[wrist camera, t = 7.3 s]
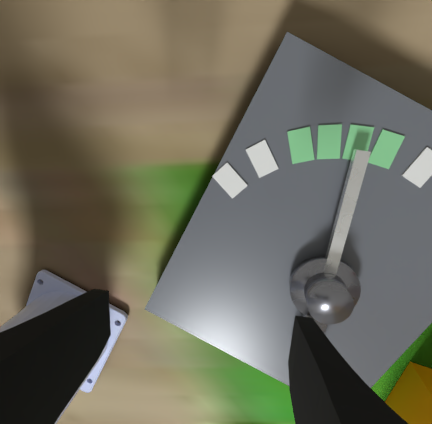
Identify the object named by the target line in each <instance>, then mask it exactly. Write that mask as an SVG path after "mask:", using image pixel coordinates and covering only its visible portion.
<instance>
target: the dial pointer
mask: <svg viewBox="0 0 432 424" xmlns="http://www.w3.org/2000/svg"><path fill="white" fill-rule="evenodd" d="M370 154H371V152H370V151H364V150H357V149H354V150H353V154H352V158H351V162H350V165H349V169H348V173H347V177H346V180H345V184H344V188H343V192H342V195H341V199H340V203H339V207H338V210H337V214H336V218H335V221H334V225H333V229H332V233H331V236H330V240H329V244H328V248H327V251H326V255H321V256H314V257H311V258H308V259H306V260H304V261H303V262H301V263H300V264H299V265H298V266H297V267H296V268H295V269H294V271H293V272H292V274H291V277H290V281H289V290H290V296H291V299H292V301H293V303H294V305H295V307H296V308H297V309H298V310H299V311H300V312H301V313H303V317H310V318H313V319H314V321H315V322H316V323H317V324H318V326H319V327H320V328H321V330H322V331H323V332H324V334H325V332H326V329H327V325H328V324H338V323H341V322H343V321H345V320H346V319H347V318H348V317H349V316H350V315H351V313H352V312H353V309H354V307H355V305H356V304H357V302H358V300H359V298H360V294H361V285H360V281H359V279H358V277H357V275H356V273H355V272H354V270H353V269H352V268H351V266H350V265H349V264H347V263H346V262H345V261H343V260H341V256H342V252H343V248H344V245H345V241H346V238H347V234H348V231H349V227H350V224H351V220H352V217H353V213H354V210H355V206H356V203H357V199H358V196H359V192H360V189H361V185H362V182H363V178H364V175H365V171H366V168H367V164H368V161H369V157H370Z"/></svg>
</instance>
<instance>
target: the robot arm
mask: <svg viewBox="0 0 432 424" xmlns="http://www.w3.org/2000/svg"><path fill="white" fill-rule="evenodd" d="M41 280H42V281H43V282H42V281H41ZM127 318H128V316H127V314H126V313H125V312H124V311H122V310H120V309H119V308H117V307H115V306H113V305H111V304H109V291H105V290H98V289H93V290H90V291H88V292H86V291H85V290H83V289H81V288H79V287H77V286H75V285H73V284H71V283H70V282H68V281H66V280H64V279H62V278H60V277H58V276H56V275H54V274H53V273H51V272H49V271H47V270H41V271H39V272H38V273H37V275H36V278H35V281H34V284H33V287H32V290H31V292H30V295H29V298H28V301H27V304H26V307H25V308H24V309H22V310H21V311H20V312H19V313H17V314H16V315H15V316H13V317H12V318H11V319H10V320H8V321H7V322H6V323H5V324H3V325H2V326H1V327H0V424H56V423H57V422H58V420H59V419H60V417H61V416H62V414H63V413H64V411H65V410H66V409H67V407H68V406H69V404H70V403H71V401H72V400H73V398H74V397H75V395H76V394H77V392H78V391H79V389H80V390H82V391H84V392H87V393H89V392H91V390H92V389H93V387H94V385H95V383H96V381H97V379H98V377H99V375H100V373H101V371H102V369H103V367H104V365H105V363H106V361H107V359H108V357H109V355H110V353H111V351H112V349H113V347H114V345H115V343H116V341H117V339H118V337H119V335H120V333H121V331H122V329H123V327H124V325H125V323H126V321H127ZM117 320H118V321H120V322H121V323H119V322H118V321H117ZM288 369H289V386H290V394H291V400H292V406H293V412H294V418H295V423H296V424H408V423H407V422H406V421H405V420H404V419H402V418H401V417H400V416H399V415H398V414H397V413H396V412H395V411H394V410H392V409H391V408H390V407H389V406H388V405H387V404H386V403H385V402H384V401H383V400H382V399H381V398H380V397H379V396H378V395H377V394H376V393H375V392H374V391H373V390H372V389H371V388H370V387H369V386H368V385H367V384H366V383H365V382H364V381H363V380H362V379H361V378H360V376H359V375H358V374H357V373H356V372H355V371H354V370H353V369H352V368H351V366H350V365H349V364H348V363H347V362H346V361H345V359H344V358H343V357H342V356H341V354H340V353H339V352H338V351H337V349H336V348H335V347H334V346H333V344H332V343H331V342H330V340H329V339H328V338H327V337H326V335H325V334H324V332H323V331H322V330H321V328H320V327H319V326H318V324H317V323H316V322H315V321H314V319H313V318H310V317H303V316H295V320H294V327H293V333H292V339H291V346H290V352H289V359H288Z"/></svg>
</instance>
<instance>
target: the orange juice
mask: <svg viewBox="0 0 432 424" xmlns="http://www.w3.org/2000/svg"><path fill="white" fill-rule="evenodd" d="M385 403H386V404H387V405H388V406H389V407H390V408H391V409H392V410H394V411H395V412H396V413H397V414H398V415H399V416H400V417H401V418H402V419H404V420H405V421H406V422H407V423H408V424H432V369H431V368H428V367H425V366H422V365H419V364H416V363H413V362H409V364H408V365H407V367H406V369H405V370H404V372H403V373H402V375H401V377H400V378H399V380H398V381H397V383H396V385H395V386H394V388H393V390H392V391H391V393H390V394H389V396H388V398H387V399H386V401H385Z"/></svg>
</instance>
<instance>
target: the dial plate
mask: <svg viewBox="0 0 432 424" xmlns="http://www.w3.org/2000/svg"><path fill="white" fill-rule="evenodd" d="M354 149H357V150H364V151H370V152H371V154H370V157H369V161H368V164H367V168H366V171H365V175H364V178H363V182H362V185H361V189H360V192H359V196H358V199H357V203H356V206H355V210H354V213H353V217H352V220H351V224H350V227H349V231H348V234H347V238H346V241H345V245H344V248H343V252H342V256H341V260H343V261H345V262H346V263H347V264H349V265H350V266H351V268H352V269H353V270H354V272H355V273H356V275H357V277H358V279H359V281H360V285H361V294H360V298H359V300H358V302H357V304H356V305H355V307H354V309H353V312H352V313H351V315H350V316H349V317H348V318H347V319H346V320H345V321H343V322H341V323H338V324H328V325H327V329H326V332H325V335H326V337H327V338H328V339H329V340H330V342H331V343H332V344H333V346H334V347H335V348H336V349H337V351H338V352H339V353H340V354H341V356H342V357H343V358H344V359H345V361H346V362H347V363H348V364H349V365H350V366H351V368H352V369H353V370H354V371H355V372H356V373H357V374H358V375H359V376H360V378H361V379H362V380H363V381H364V382H365V383H366V384H367V385H368V386H369V387H370V388H371V387H372V386H373V385H374V384H375V383H376V382H377V381H378V380H379V378H380V377H381V376H382V375H383V374H384V373H385V372H386V371H387V370H388V369H389V368H390V367H391V366H392V365H393V364H394V362H395V361H396V360H397V359H398V358H399V357H400V356H401V355H402V354H403V353H404V352H405V351H406V350H407V349H408V347H409V346H410V345H411V344H412V343H413V342H414V341H415V340H416V339H417V338H418V337H419V336H420V335H421V334H422V332H423V331H424V330H425V329H426V328H427V327H428V326H429V325H430V324H431V323H432V110H430V109H428V108H426V107H424V106H423V105H421V104H419V103H417V102H415V101H413V100H412V99H410V98H408V97H406V96H404V95H402V94H401V93H399V92H397V91H395V90H393V89H391V88H390V87H388V86H386V85H384V84H382V83H380V82H379V81H377V80H375V79H373V78H371V77H369V76H368V75H366V74H364V73H362V72H360V71H358V70H357V69H355V68H353V67H351V66H349V65H347V64H346V63H344V62H342V61H340V60H338V59H336V58H335V57H333V56H331V55H329V54H327V53H325V52H324V51H322V50H320V49H318V48H316V47H314V46H312V45H311V44H309V43H307V42H305V41H303V40H301V39H300V38H298V37H296V36H294V35H292V34H290V33H289V32H287V33H286V35H285V37H284V39H283V41H282V43H281V45H280V47H279V49H278V51H277V52H276V54H275V56H274V58H273V60H272V62H271V64H270V66H269V68H268V70H267V72H266V74H265V76H264V78H263V80H262V82H261V84H260V86H259V87H258V89H257V91H256V93H255V95H254V97H253V99H252V101H251V103H250V105H249V107H248V109H247V111H246V113H245V115H244V117H243V119H242V121H241V123H240V124H239V126H238V128H237V130H236V132H235V134H234V136H233V138H232V140H231V142H230V144H229V146H228V148H227V150H226V152H225V154H224V156H223V158H222V159H221V161H220V163H219V165H218V167H217V169H216V171H215V173H214V175H213V176H212V179H211V181H210V183H209V185H208V187H207V189H206V191H205V193H204V194H203V196H202V198H201V200H200V202H199V204H198V206H197V208H196V210H195V212H194V214H193V216H192V218H191V220H190V222H189V224H188V226H187V228H186V230H185V231H184V233H183V235H182V237H181V239H180V241H179V243H178V245H177V247H176V249H175V251H174V253H173V255H172V257H171V259H170V261H169V263H168V265H167V266H166V268H165V270H164V272H163V274H162V276H161V278H160V280H159V282H158V284H157V286H156V288H155V290H154V292H153V294H152V296H151V298H150V300H149V301H148V303H147V305H146V307H145V310H147V311H149V312H151V313H153V314H155V315H157V316H158V317H160V318H162V319H164V320H166V321H168V322H170V323H172V324H173V325H175V326H177V327H179V328H181V329H183V330H185V331H187V332H189V333H190V334H192V335H194V336H196V337H198V338H200V339H202V340H204V341H205V342H207V343H209V344H211V345H213V346H215V347H217V348H219V349H221V350H222V351H224V352H226V353H228V354H230V355H232V356H234V357H236V358H238V359H239V360H241V361H243V362H245V363H247V364H249V365H251V366H253V367H254V368H256V369H258V370H260V371H262V372H264V373H266V374H268V375H270V376H271V377H273V378H275V379H277V380H279V381H281V382H283V383H285V384H286V385H288V386H289V369H288V359H289V352H290V346H291V339H292V333H293V327H294V320H295V316H303V313H301V312H300V311H299V310H298V309H297V308H296V307H295V305H294V303H293V301H292V299H291V296H290V290H289V281H290V277H291V274H292V272H293V271H294V269H295V268H296V267H297V266H298V265H299V264H300V263H301V262H303V261H304V260H306V259H308V258H311V257H314V256H321V255H326V251H327V248H328V244H329V240H330V236H331V233H332V229H333V225H334V221H335V218H336V214H337V210H338V207H339V203H340V199H341V195H342V192H343V188H344V184H345V180H346V177H347V173H348V169H349V165H350V162H351V158H352V154H353V150H354Z"/></svg>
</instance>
